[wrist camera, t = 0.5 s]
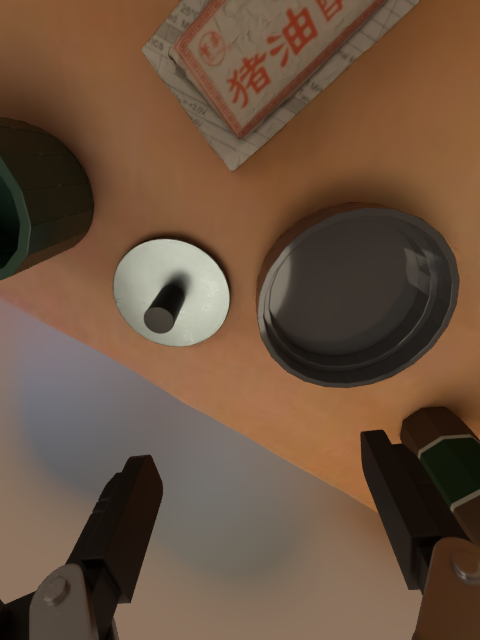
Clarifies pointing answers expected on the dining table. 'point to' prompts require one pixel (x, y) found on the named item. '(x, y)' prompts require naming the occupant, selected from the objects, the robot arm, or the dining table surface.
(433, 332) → the pan
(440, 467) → the beer bottle
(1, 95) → the dining table surface
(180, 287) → the lid
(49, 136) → the pot
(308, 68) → the packaged product
